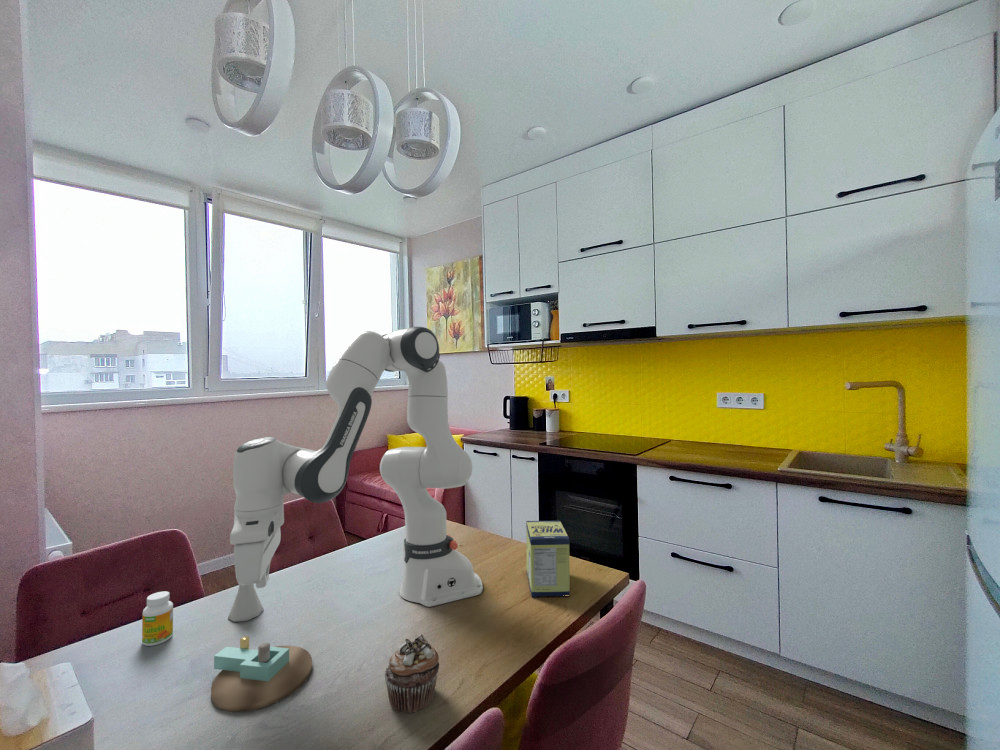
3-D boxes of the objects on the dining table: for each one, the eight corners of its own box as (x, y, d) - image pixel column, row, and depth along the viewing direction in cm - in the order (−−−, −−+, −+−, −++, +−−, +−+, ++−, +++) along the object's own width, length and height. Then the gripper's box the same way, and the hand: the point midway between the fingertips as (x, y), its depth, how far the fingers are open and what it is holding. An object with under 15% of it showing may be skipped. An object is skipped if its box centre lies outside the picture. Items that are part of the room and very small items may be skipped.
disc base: (317, 645, 94) (317, 616, 94) (304, 700, 78) (305, 665, 78) (228, 659, 90) (228, 629, 90) (195, 721, 73) (195, 683, 73)
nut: (289, 661, 87) (289, 648, 87) (268, 681, 81) (268, 667, 81) (231, 654, 89) (232, 642, 89) (207, 673, 83) (207, 660, 83)
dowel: (250, 655, 89) (250, 635, 89) (247, 660, 87) (248, 640, 87) (241, 656, 88) (241, 636, 89) (239, 661, 87) (239, 641, 87)
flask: (247, 624, 103) (247, 581, 103) (221, 621, 104) (221, 579, 104) (269, 608, 110) (269, 568, 110) (244, 606, 111) (245, 566, 111)
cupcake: (421, 671, 85) (421, 620, 86) (449, 698, 78) (448, 642, 78) (375, 695, 79) (375, 639, 79) (401, 726, 72) (400, 665, 72)
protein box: (560, 571, 130) (560, 519, 130) (570, 597, 115) (570, 538, 115) (525, 572, 130) (525, 520, 130) (531, 598, 114) (530, 538, 115)
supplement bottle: (138, 649, 93) (139, 603, 93) (145, 636, 98) (146, 592, 98) (170, 642, 96) (170, 597, 96) (175, 630, 100) (175, 587, 101)
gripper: (256, 503, 98) (258, 563, 99) (226, 539, 79) (229, 614, 79) (286, 500, 100) (289, 559, 101) (265, 535, 80) (268, 608, 81)
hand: (262, 584), depth 90 cm, fingers closed
